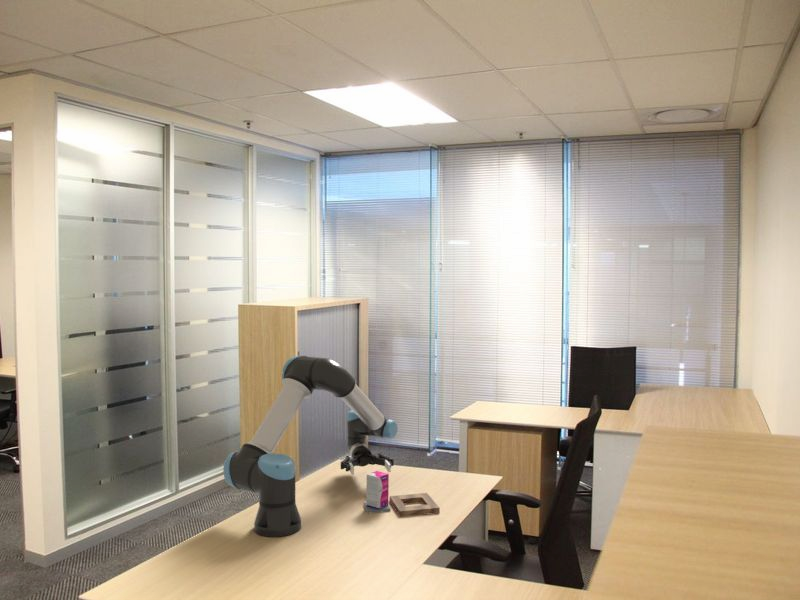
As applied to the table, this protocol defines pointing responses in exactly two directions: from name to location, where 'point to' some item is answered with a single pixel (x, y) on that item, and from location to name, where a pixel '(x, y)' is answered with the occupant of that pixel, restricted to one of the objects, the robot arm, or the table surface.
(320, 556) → the table surface
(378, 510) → the coaster
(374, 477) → the supplement box
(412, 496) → the board
